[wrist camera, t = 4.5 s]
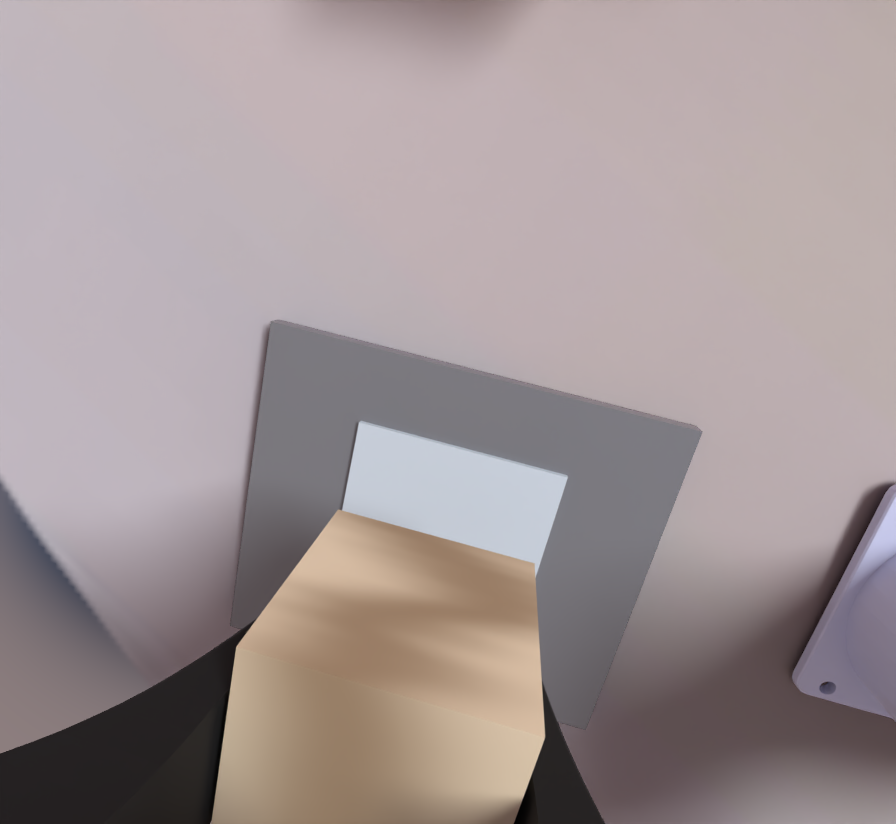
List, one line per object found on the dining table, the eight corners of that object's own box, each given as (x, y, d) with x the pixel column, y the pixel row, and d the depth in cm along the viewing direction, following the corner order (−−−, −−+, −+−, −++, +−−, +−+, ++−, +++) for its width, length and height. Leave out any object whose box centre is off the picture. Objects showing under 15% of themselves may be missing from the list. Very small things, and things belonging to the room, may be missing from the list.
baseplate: (696, 426, 17) (704, 433, 16) (583, 716, 20) (585, 734, 19) (278, 319, 18) (268, 322, 17) (237, 616, 21) (227, 629, 20)
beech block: (534, 563, 13) (545, 737, 8) (483, 721, 14) (467, 950, 9) (338, 509, 13) (236, 646, 8) (307, 669, 15) (205, 865, 10)
